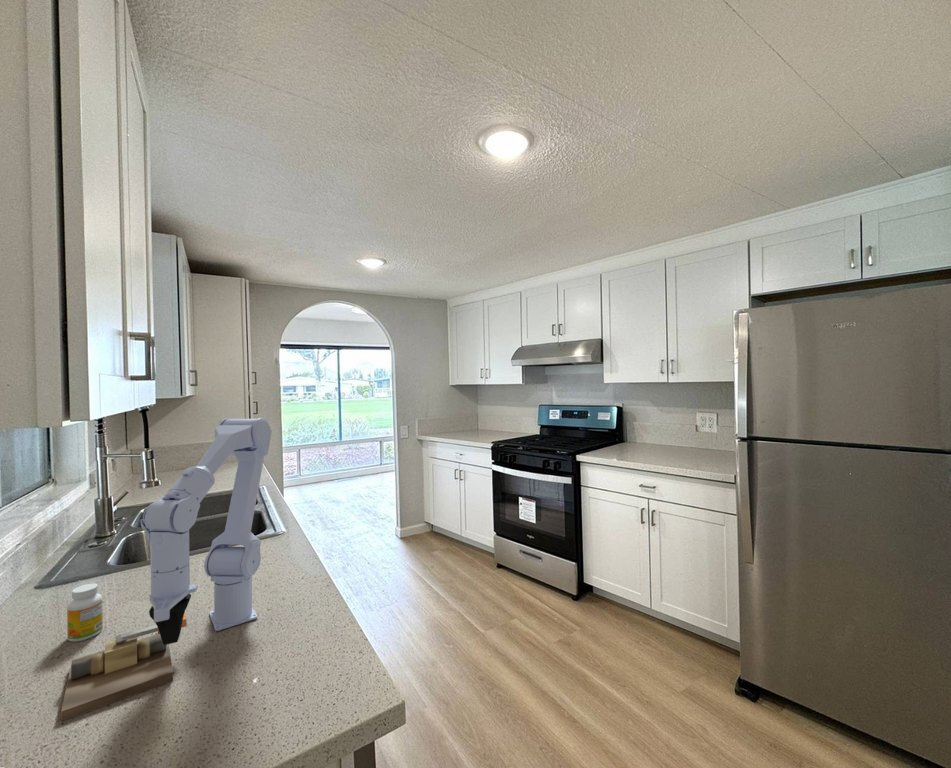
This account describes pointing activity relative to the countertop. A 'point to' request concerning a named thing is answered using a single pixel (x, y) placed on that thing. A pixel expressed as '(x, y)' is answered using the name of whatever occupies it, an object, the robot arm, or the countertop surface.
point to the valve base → (116, 674)
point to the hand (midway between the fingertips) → (171, 641)
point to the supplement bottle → (84, 613)
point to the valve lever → (142, 632)
